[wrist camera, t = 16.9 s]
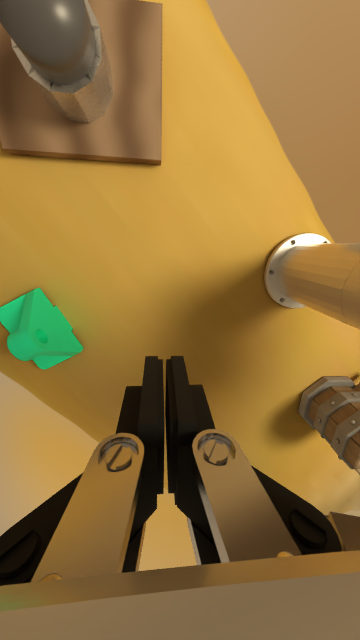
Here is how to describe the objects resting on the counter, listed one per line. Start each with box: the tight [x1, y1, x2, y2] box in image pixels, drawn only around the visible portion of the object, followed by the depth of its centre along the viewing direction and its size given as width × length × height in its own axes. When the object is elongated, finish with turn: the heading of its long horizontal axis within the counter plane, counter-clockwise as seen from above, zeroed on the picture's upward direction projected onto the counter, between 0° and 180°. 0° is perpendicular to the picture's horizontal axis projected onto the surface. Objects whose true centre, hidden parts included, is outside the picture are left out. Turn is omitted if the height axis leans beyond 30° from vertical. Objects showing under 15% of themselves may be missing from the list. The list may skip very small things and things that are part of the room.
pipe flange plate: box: [0, 0, 162, 165], centre depth 25 cm, size 20×15×8 cm
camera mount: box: [0, 288, 83, 369], centre depth 34 cm, size 12×8×10 cm, turn 26°
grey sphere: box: [0, 0, 95, 85], centre depth 21 cm, size 7×7×7 cm
